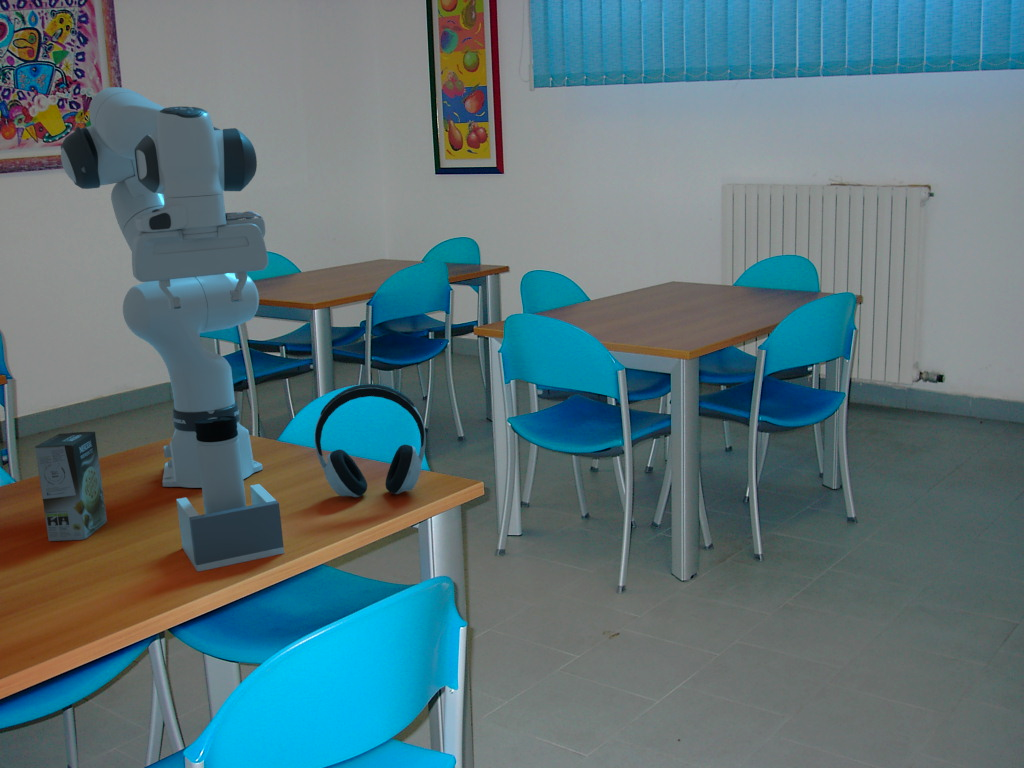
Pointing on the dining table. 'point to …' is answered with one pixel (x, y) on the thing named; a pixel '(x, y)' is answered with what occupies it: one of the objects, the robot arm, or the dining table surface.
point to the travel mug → (220, 464)
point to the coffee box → (71, 486)
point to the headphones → (342, 466)
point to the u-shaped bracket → (231, 532)
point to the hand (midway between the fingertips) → (206, 305)
